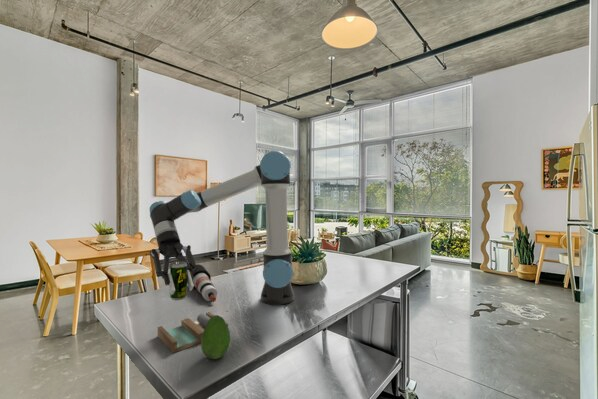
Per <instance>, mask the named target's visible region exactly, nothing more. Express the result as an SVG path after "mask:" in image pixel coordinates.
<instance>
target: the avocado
mask: <svg viewBox="0 0 598 399" xmlns="http://www.w3.org/2000/svg"><path fill="white" fill-rule="evenodd" d="M225 322H226V321H225V319H224V317H222V316H220V315H216V314H215V316H212V317H211V318H210V319H209V321H208V323H207V325H206V327H205V329H204V332H203V335H202V338H201V343H200V347H201V350H202V353H203V355H205V357H206V358H208V359H210V360H218V359H219V358H222V357H223V356H224V355H225V354H226V353H227V351H228V349H229V347H230V342H231V334H230V330H229V326H228V327H227V325H226V323H227V322H226V323H225Z"/></svg>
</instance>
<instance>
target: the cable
mask: <svg viewBox="0 0 598 399" xmlns="http://www.w3.org/2000/svg"><path fill="white" fill-rule="evenodd" d="M195 264H196V263H195ZM192 273H193V276H194V278H193V280H192V281H193V284H194V287H193V289H192V290H196V291H197V292H198V293H199V294H200V295H201V296H202V298H203V299H204V301H207V302H212V303H214V302H216V301H217V296H218V290H217V289H216V287H215V286H214V284H213V282H212V281H211V280H212V279H211V278H212V276H211V274H210V272H208V271H207V268H205V266H203V265H202V264H199V263H198V264H196V268H195V270H194V271H192Z"/></svg>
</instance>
